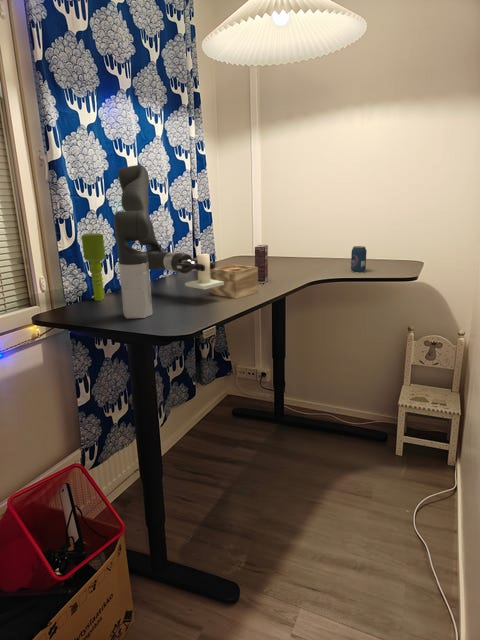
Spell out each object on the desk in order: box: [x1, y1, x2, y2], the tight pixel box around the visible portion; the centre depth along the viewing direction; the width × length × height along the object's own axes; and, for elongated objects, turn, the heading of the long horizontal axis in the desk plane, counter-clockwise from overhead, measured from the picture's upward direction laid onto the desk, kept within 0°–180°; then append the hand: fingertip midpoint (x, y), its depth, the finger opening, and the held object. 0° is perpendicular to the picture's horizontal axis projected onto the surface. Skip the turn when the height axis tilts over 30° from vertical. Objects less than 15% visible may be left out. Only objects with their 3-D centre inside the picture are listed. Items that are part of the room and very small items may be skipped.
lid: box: [184, 253, 224, 290], centre depth 162 cm, size 10×10×11 cm
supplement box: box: [254, 244, 269, 284], centre depth 196 cm, size 9×5×16 cm, turn 168°
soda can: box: [350, 245, 367, 273], centre depth 215 cm, size 7×7×12 cm
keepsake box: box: [210, 264, 259, 299], centre depth 175 cm, size 13×13×10 cm
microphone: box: [81, 232, 106, 301], centre depth 169 cm, size 8×8×25 cm
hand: (209, 267), depth 160 cm, fingers closed on lid, 4 cm apart
